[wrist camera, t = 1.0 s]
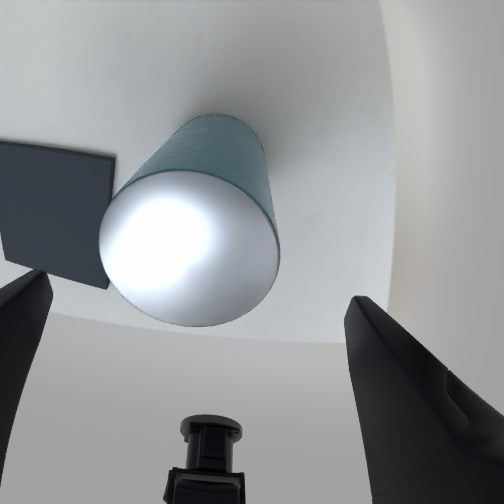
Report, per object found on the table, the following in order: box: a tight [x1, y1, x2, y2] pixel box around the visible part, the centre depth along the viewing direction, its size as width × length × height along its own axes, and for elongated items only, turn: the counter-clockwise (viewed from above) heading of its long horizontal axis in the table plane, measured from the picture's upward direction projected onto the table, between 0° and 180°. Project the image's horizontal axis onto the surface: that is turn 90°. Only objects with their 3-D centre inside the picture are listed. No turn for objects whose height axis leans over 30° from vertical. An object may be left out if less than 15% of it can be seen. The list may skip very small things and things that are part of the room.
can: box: [99, 114, 280, 327], centre depth 14 cm, size 6×6×10 cm
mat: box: [0, 142, 115, 290], centre depth 19 cm, size 10×10×1 cm
